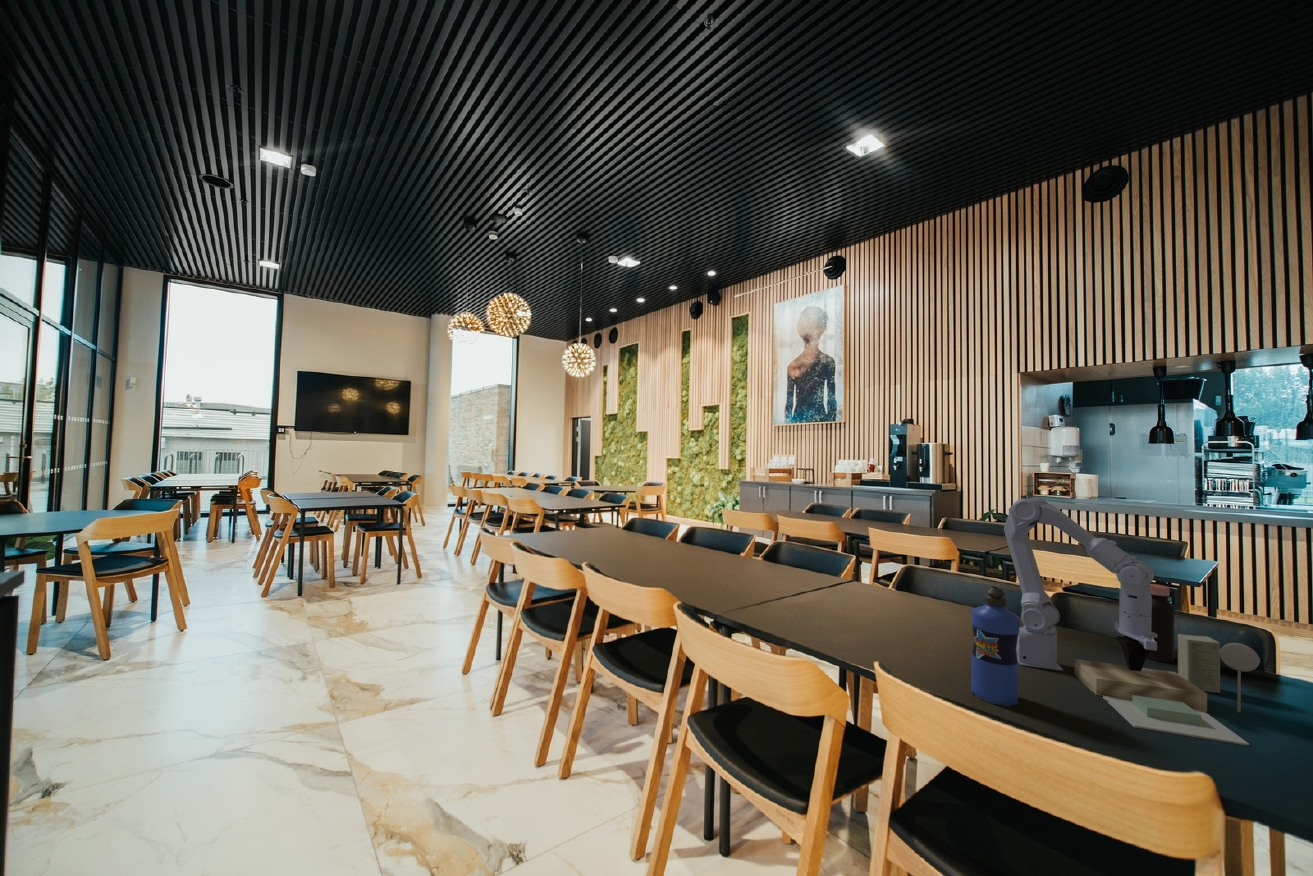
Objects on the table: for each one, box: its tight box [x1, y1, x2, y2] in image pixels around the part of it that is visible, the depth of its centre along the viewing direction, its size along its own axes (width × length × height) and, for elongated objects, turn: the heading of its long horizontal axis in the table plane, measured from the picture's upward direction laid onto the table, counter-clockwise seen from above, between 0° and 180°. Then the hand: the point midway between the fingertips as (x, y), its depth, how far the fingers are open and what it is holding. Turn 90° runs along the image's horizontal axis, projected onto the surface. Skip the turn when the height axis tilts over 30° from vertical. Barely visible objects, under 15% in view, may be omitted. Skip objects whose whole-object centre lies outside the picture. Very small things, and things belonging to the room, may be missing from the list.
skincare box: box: [1177, 633, 1221, 694], centre depth 128 cm, size 6×4×12 cm
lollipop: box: [1219, 642, 1261, 713], centre depth 116 cm, size 6×6×15 cm
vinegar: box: [1146, 583, 1175, 663], centre depth 146 cm, size 7×7×20 cm
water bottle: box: [970, 586, 1021, 706], centre depth 120 cm, size 9×9×25 cm
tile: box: [1132, 695, 1201, 725], centre depth 113 cm, size 9×6×2 cm, turn 71°
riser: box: [1074, 658, 1208, 713], centre depth 124 cm, size 20×12×4 cm, turn 71°
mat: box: [1101, 695, 1250, 747], centre depth 112 cm, size 18×14×1 cm
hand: (1134, 669), depth 125 cm, fingers closed
